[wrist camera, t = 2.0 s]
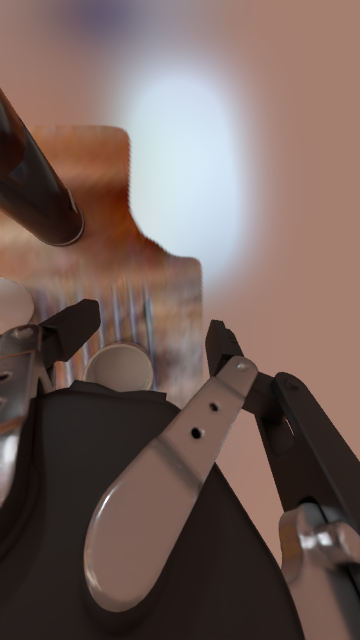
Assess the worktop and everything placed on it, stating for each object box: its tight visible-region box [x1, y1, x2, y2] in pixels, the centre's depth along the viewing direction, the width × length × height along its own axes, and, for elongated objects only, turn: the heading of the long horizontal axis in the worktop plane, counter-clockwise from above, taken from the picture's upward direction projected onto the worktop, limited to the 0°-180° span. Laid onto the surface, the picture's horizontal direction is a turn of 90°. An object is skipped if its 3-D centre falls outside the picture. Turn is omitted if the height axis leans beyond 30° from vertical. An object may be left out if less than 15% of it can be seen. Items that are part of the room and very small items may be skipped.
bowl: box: [83, 341, 154, 392], centre depth 30 cm, size 12×12×4 cm
